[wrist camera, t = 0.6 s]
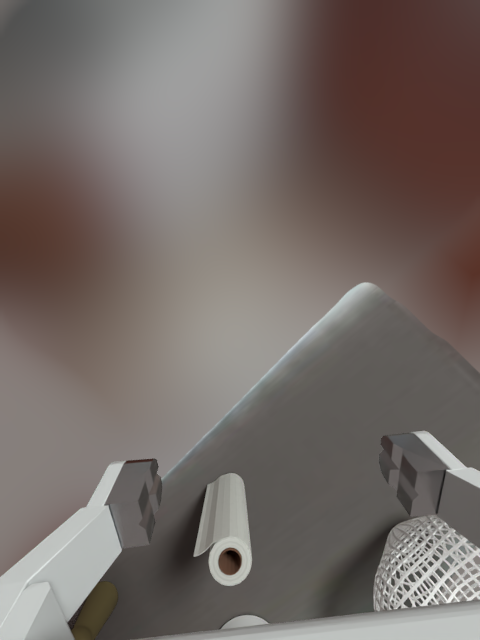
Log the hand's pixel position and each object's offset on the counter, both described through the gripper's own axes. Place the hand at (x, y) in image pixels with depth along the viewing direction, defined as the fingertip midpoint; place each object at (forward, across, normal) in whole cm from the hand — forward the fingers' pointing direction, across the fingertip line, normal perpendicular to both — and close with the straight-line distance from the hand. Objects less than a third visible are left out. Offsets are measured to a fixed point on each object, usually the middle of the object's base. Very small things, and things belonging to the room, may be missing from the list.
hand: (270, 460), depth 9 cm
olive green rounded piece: (+27, -33, -60) cm, 73 cm away
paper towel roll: (+36, -5, -43) cm, 57 cm away
